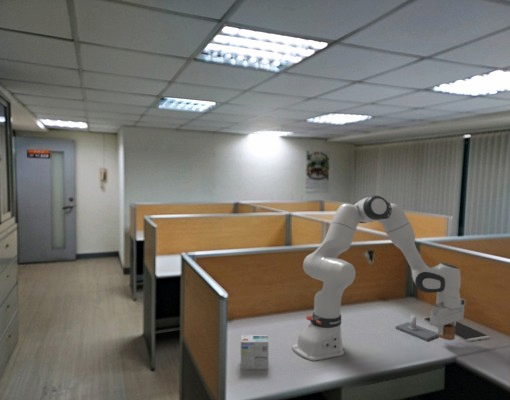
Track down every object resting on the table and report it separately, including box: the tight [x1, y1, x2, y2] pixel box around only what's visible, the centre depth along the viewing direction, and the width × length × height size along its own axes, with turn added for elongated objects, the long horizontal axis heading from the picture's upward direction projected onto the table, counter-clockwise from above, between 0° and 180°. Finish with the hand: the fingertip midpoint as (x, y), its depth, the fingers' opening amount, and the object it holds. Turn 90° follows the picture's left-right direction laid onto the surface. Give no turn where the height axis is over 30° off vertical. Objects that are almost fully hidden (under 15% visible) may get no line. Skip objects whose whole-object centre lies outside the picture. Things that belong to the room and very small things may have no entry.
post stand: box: [395, 314, 440, 342], centre depth 168 cm, size 10×16×7 cm, turn 33°
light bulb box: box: [240, 334, 269, 370], centre depth 136 cm, size 11×7×11 cm, turn 92°
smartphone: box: [423, 316, 491, 343], centre depth 173 cm, size 13×27×2 cm, turn 17°
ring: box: [437, 324, 456, 341], centre depth 153 cm, size 6×6×5 cm
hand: (446, 332), depth 153 cm, fingers closed on ring, 6 cm apart
